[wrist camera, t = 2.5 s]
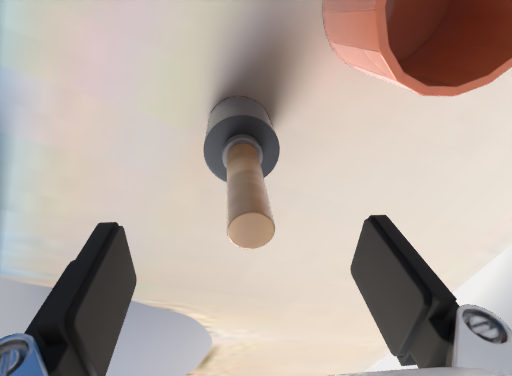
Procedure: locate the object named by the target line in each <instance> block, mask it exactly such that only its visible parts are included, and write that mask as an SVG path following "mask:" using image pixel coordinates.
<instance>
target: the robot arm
mask: <svg viewBox="0 0 512 376" xmlns="http://www.w3.org/2000/svg"><path fill="white" fill-rule="evenodd" d="M351 274H352V276H353V278H354V280H355V282H356V284H357V286H358V288H359V290H360V292H361V294H362V296H363V298H364V300H365V302H366V304H367V306H368V308H369V310H370V312H371V314H372V316H373V318H374V320H375V322H376V324H377V326H378V328H379V330H380V332H381V334H382V336H383V338H384V340H385V342H386V344H387V346H388V348H389V350H390V352H391V353H392V354H393V355H394V356H397V358H398V360H399V362H400V364H401V366H407V365H416V364H417V366H418V368H419V369H406V370H390V371H378V372H366V373H354V374H341V375H329V376H512V331H511V329H510V328H509V327H508V325H507V324H506V323H505V322H504V321H503V320H502V319H501V318H499V317H498V316H496V315H495V314H494V313H492V312H490V311H488V310H486V309H485V308H482V307H479V306H476V305H469V304H468V305H462V306H461V307H460V306H459V305H458V304H457V302H456V298H455V297H454V295H453V294H452V293H451V292H450V291H449V289H448V288H447V287H446V286H445V285H444V283H443V282H442V281H441V280H440V279H439V277H438V276H437V275H436V274H435V273H434V271H433V270H432V269H431V268H430V267H429V266H428V264H427V263H426V262H425V261H424V260H423V258H422V257H421V256H420V255H419V254H418V252H417V251H416V250H415V249H414V248H413V246H412V245H411V244H410V243H409V242H408V241H407V239H406V238H405V237H404V236H403V235H402V233H401V232H400V231H399V230H398V229H397V227H396V226H395V225H394V224H393V223H392V221H391V220H390V219H389V218H388V217H387V216H386V215H371V216H369V218H368V219H366V220H365V221H364V224H363V227H362V231H361V234H360V237H359V241H358V244H357V248H356V251H355V254H354V258H353V261H352V264H351ZM135 286H136V274H135V270H134V266H133V262H132V258H131V255H130V251H129V247H128V243H127V239H126V235H125V231H124V228H123V226H119V225H118V223H116V222H107V223H99V224H98V225H97V226H96V228H95V229H94V231H93V233H92V234H91V236H90V237H89V239H88V240H87V242H86V244H85V245H84V247H83V248H82V250H81V252H80V253H79V255H78V256H77V258H76V260H73V261H72V262H70V264H69V265H68V266H67V268H66V269H65V271H64V272H63V274H62V275H61V277H60V278H59V280H58V282H57V283H56V285H55V286H54V288H53V289H52V291H51V292H50V294H49V296H48V297H47V299H46V300H45V302H44V303H43V305H42V306H41V308H40V310H39V311H38V313H37V314H36V316H35V317H34V319H33V320H32V322H31V324H30V325H29V327H28V328H27V330H26V331H25V333H24V334H13V335H9V336H6V337H3V338H1V339H0V376H105V375H106V372H107V369H108V367H109V364H110V361H111V358H112V355H113V352H114V349H115V346H116V343H117V340H118V336H119V334H120V331H121V328H122V325H123V322H124V319H125V316H126V313H127V310H128V307H129V304H130V301H131V298H132V295H133V292H134V289H135Z"/></svg>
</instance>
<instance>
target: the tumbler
mask: <svg viewBox="0 0 512 376" xmlns="http://www.w3.org/2000/svg"><path fill="white" fill-rule="evenodd" d="M323 22H324V28H325V32H326V36H327V38H328V41H329V43H330V45H331V47H332V48H333V50H334V52H335V53H336V54H337V55H338V57H339V58H340V59H341V60H343V61H344V62H345V63H346V64H348V65H349V66H351V67H353V68H356V69H357V70H359V71H361V72H363V73H366V74H368V75H371V76H373V77H376V78H378V79H381V80H384V81H386V82H389V83H391V84H394V85H396V86H399V87H402V88H404V89H407V90H409V91H412V92H414V93H417V94H419V95H423V96H457V95H460V94H462V93H465V92H468V91H470V90H473V89H476V88H479V87H481V86H484V85H487V84H489V83H491V82H492V81H494V80H495V79H496V78H498V77H499V76H500V75H502V74H503V73H504V72H506V71H507V70H508V69H510V68H511V67H512V0H323Z"/></svg>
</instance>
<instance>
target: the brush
mask: <svg viewBox="0 0 512 376" xmlns="http://www.w3.org/2000/svg"><path fill="white" fill-rule="evenodd" d="M279 149H280V148H279V141H278V138H277V136H276V133H275V131H274V129H273V126H272V124H271V122H270V119H269V117H268V115H267V112H266V111H265V109H264V108H263V107H262V106H261V105H260V104H259V103H258V102H257V101H255V100H253V99H251V98H248V97H244V96H234V97H230V98H227V99H225V100H223V101H221V102H220V103H219V104H217V105H216V107H215V108H214V109H213V111H212V112H211V114H210V117H209V121H208V126H207V132H206V137H205V143H204V157H205V161H206V163H207V166H208V167H209V169H210V170H211V171H212V173H213V174H214V175H215V176H217V177H218V178H219V179H221V180H223V181H225V182H227V235H228V237H229V239H230V241H231V242H232V243H233V244H235V245H236V246H238V247H241V248H244V249H254V248H259V247H261V246H263V245H265V244H267V243H268V242H269V241H270V240H271V239H272V237H273V235H274V232H275V225H274V220H273V216H272V212H271V208H270V203H269V199H268V195H267V190H266V186H265V182H264V177H266V176H267V175H268V174H269V173H270V172H271V171H272V170H273V168H274V167H275V165H276V163H277V161H278V157H279Z"/></svg>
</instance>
